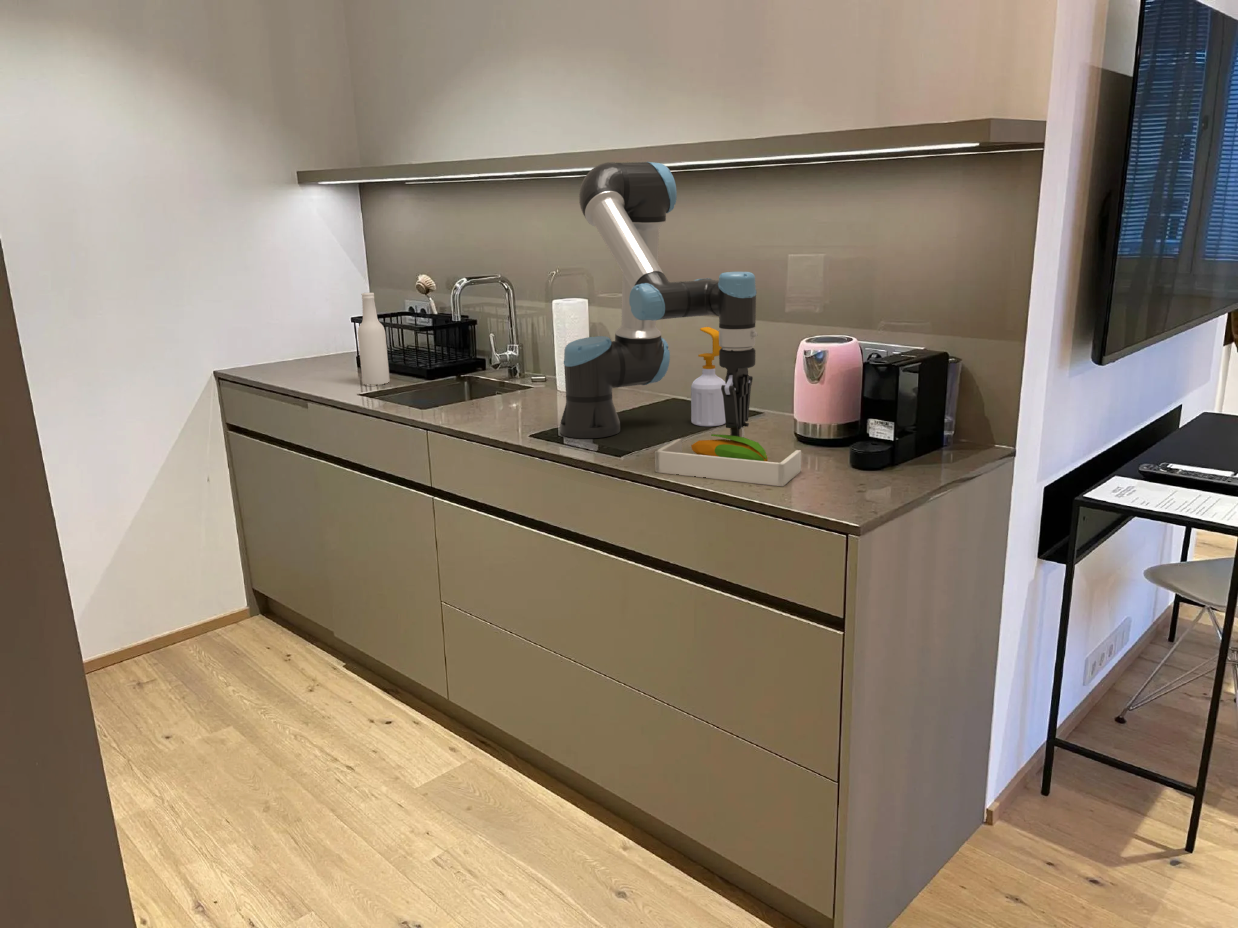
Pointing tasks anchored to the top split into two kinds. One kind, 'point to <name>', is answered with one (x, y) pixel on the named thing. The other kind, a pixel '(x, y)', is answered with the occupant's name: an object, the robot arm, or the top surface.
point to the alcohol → (372, 344)
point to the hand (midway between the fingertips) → (737, 456)
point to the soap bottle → (708, 389)
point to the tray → (726, 466)
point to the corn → (731, 448)
